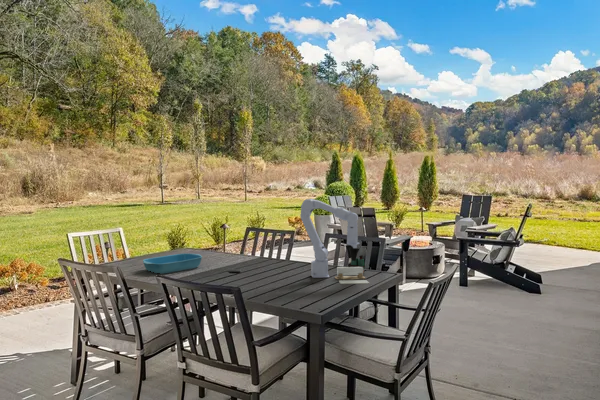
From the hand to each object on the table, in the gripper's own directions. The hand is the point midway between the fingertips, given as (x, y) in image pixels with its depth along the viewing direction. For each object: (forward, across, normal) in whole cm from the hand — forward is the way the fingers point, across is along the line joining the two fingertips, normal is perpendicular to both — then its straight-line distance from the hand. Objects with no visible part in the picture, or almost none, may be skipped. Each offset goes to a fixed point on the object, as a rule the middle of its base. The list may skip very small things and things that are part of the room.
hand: (352, 259), depth 237 cm
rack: (+10, -1, +1) cm, 10 cm away
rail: (+8, -1, +1) cm, 8 cm away
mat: (+10, -11, +1) cm, 15 cm away
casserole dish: (+12, +33, +103) cm, 109 cm away
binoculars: (+10, +12, -5) cm, 17 cm away
